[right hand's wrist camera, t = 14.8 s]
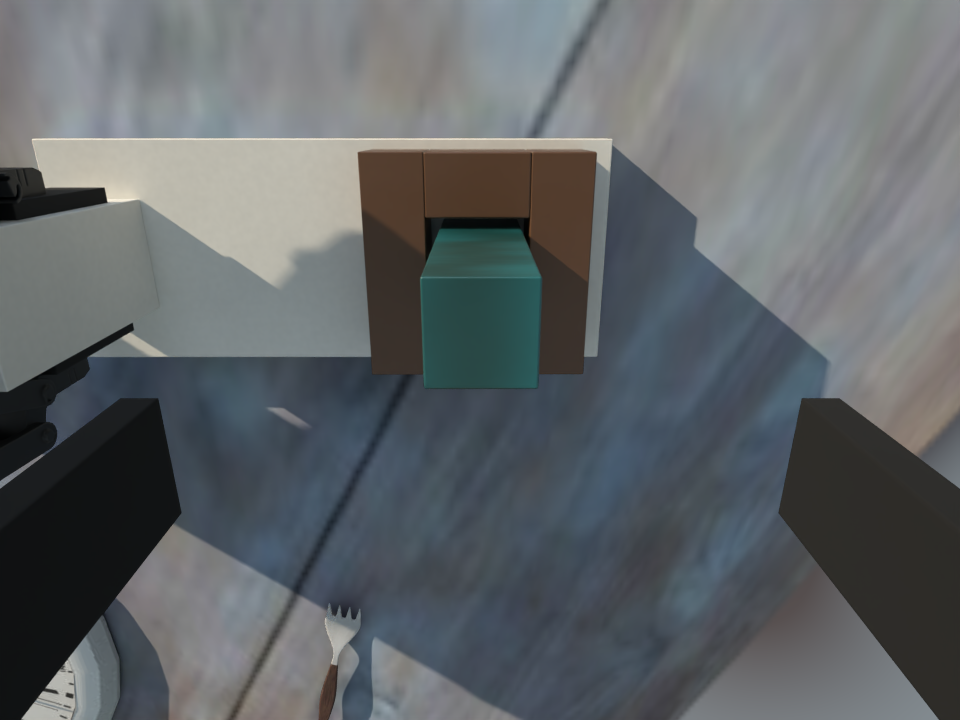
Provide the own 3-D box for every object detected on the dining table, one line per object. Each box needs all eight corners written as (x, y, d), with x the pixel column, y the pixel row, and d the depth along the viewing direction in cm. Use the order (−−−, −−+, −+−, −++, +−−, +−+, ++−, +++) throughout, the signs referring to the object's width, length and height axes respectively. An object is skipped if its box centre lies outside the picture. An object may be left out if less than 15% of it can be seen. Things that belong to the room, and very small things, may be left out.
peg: (517, 218, 33) (543, 276, 20) (515, 290, 34) (538, 389, 21) (443, 218, 33) (419, 276, 20) (444, 290, 34) (423, 389, 21)
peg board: (605, 138, 33) (687, 143, 20) (591, 345, 38) (651, 460, 25) (56, 138, 33) (-217, 143, 20) (103, 346, 38) (-97, 461, 25)
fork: (303, 739, 49) (296, 763, 47) (332, 583, 44) (325, 603, 42) (335, 745, 49) (329, 769, 48) (368, 590, 44) (363, 610, 42)
